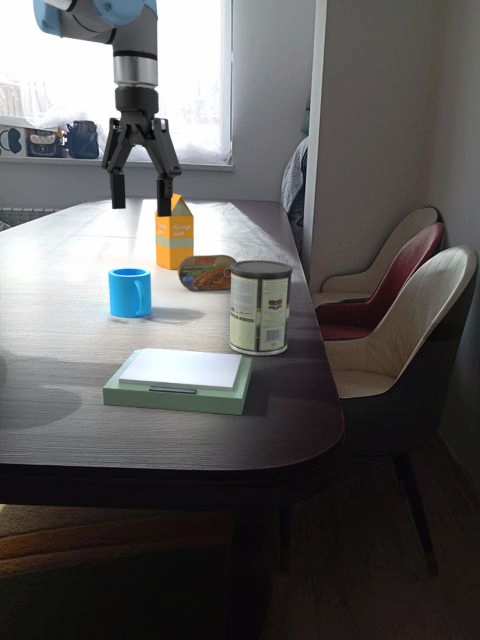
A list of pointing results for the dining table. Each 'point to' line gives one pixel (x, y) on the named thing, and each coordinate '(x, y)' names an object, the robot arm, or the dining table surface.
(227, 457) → the dining table surface
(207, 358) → the scale
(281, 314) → the coffee can
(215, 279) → the tin
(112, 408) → the dining table surface
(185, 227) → the orange juice
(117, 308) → the mug
